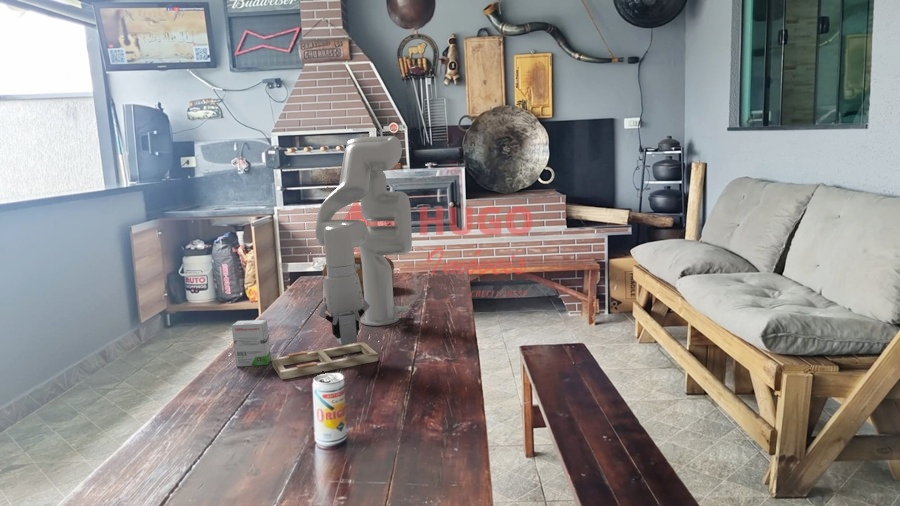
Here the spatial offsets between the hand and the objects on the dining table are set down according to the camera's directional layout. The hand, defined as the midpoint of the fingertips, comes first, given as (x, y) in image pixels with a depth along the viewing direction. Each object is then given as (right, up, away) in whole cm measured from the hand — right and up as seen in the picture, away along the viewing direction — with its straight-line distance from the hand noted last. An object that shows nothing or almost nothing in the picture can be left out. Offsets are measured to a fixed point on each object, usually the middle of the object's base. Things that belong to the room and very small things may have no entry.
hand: (346, 334), depth 177 cm
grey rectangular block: (0, -2, 0) cm, 2 cm away
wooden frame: (-5, -8, -2) cm, 9 cm away
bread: (-7, +7, +80) cm, 81 cm away
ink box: (-25, -8, 0) cm, 27 cm away
